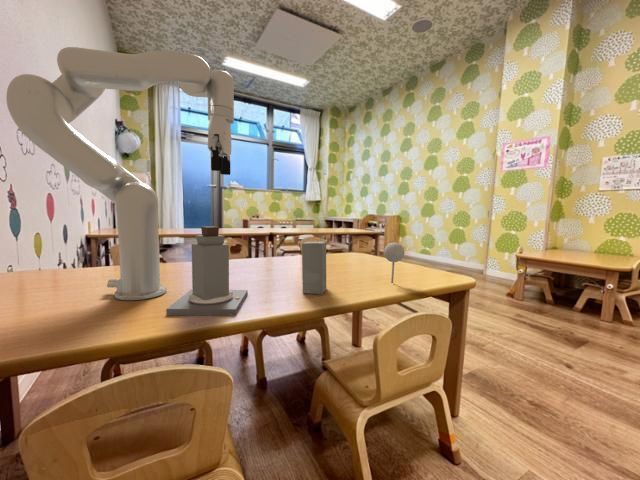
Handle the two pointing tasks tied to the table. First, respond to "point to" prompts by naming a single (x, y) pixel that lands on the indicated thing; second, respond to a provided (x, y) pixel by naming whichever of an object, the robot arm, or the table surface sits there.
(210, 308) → the mount base
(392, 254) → the lollipop
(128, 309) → the table surface
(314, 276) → the skincare box
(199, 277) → the perfume bottle
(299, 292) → the table surface
